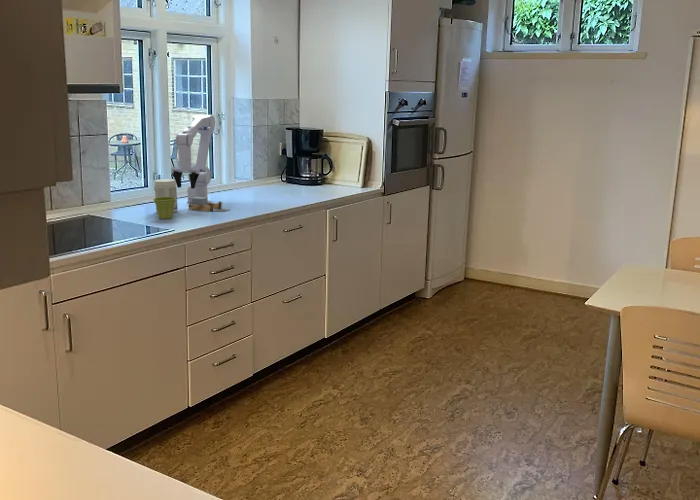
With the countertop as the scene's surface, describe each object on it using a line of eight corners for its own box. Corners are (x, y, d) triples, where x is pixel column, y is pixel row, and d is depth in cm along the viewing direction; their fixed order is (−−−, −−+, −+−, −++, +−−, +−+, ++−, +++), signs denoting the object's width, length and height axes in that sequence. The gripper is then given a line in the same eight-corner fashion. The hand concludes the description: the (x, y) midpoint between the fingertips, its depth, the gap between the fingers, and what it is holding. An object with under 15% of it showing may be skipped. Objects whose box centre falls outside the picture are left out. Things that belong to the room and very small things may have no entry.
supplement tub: (175, 209, 324) (173, 178, 321) (179, 212, 316) (178, 180, 312) (154, 211, 320) (152, 179, 316) (158, 214, 311) (156, 181, 308)
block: (191, 208, 326) (191, 198, 325) (197, 207, 330) (196, 196, 329) (202, 209, 324) (202, 198, 323) (207, 208, 328) (207, 197, 327)
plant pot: (165, 220, 296) (164, 200, 294) (149, 218, 301) (148, 198, 299) (181, 217, 304) (180, 198, 302) (166, 215, 309) (165, 196, 307)
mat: (212, 211, 321) (212, 210, 321) (219, 209, 327) (219, 208, 327) (223, 212, 319) (223, 211, 319) (230, 210, 325) (230, 209, 325)
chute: (188, 209, 325) (188, 202, 324) (198, 206, 332) (198, 199, 331) (212, 211, 320) (212, 204, 319) (221, 208, 327) (221, 201, 327)
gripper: (166, 159, 324) (168, 188, 327) (193, 160, 319) (194, 189, 322) (175, 158, 330) (176, 186, 333) (201, 159, 325) (202, 188, 328)
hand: (186, 187), depth 328 cm, fingers open, 7 cm apart
